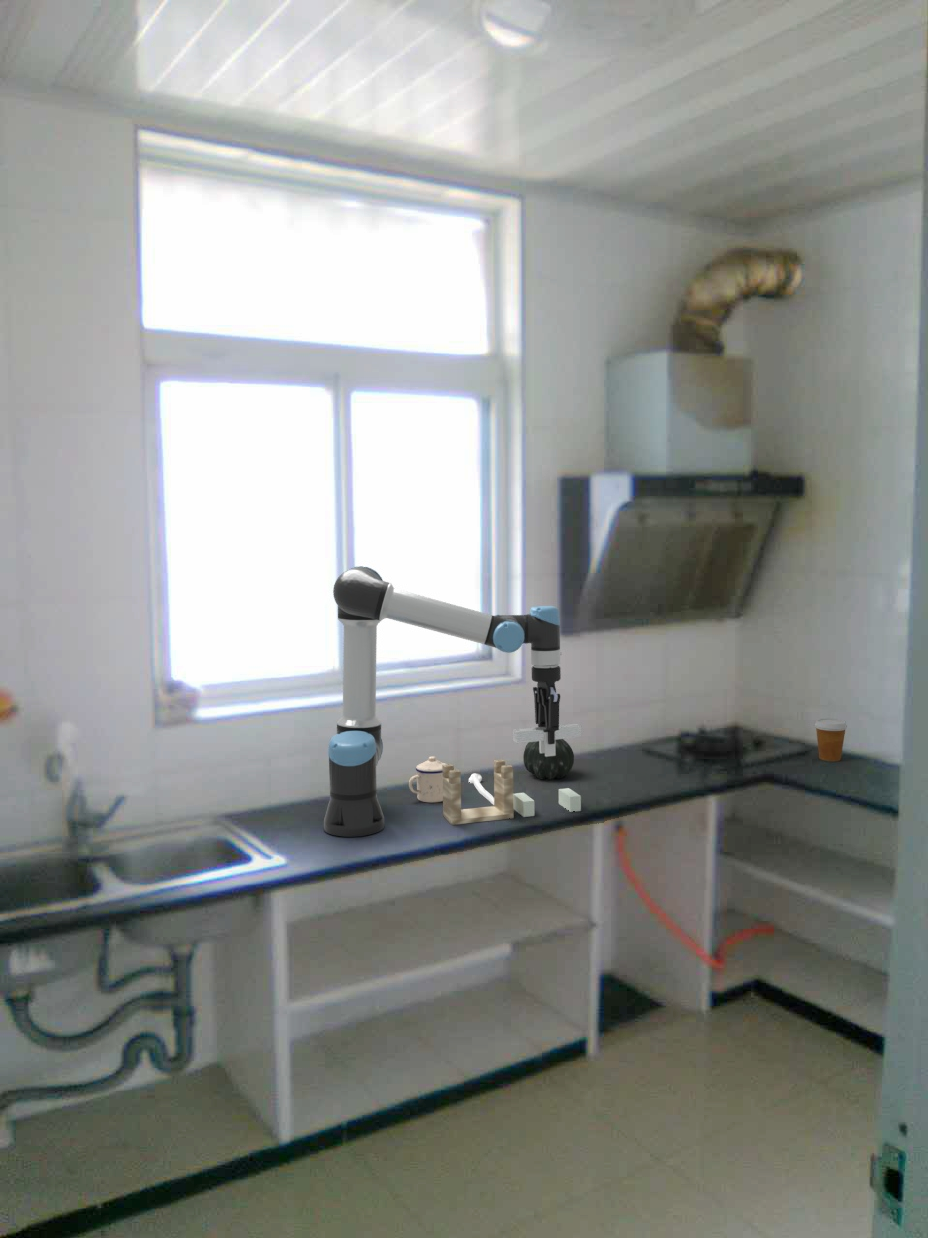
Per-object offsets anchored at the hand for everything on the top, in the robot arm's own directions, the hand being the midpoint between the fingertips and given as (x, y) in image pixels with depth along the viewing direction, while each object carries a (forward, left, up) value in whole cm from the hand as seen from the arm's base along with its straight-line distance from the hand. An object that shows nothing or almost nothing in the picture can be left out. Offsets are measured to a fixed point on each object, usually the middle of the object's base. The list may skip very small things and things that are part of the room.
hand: (547, 754), depth 260 cm
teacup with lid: (-27, +20, -15) cm, 37 cm away
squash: (+13, +31, -15) cm, 37 cm away
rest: (0, 0, -15) cm, 15 cm away
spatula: (-10, +21, -16) cm, 28 cm away
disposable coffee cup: (+103, +20, -15) cm, 106 cm away
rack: (-19, 0, -15) cm, 24 cm away
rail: (0, 0, +4) cm, 4 cm away
